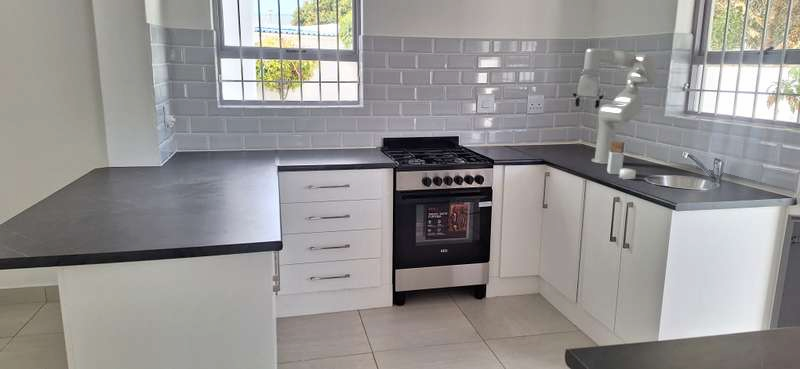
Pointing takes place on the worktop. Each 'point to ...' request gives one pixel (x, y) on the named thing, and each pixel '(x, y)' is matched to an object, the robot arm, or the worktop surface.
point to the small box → (615, 163)
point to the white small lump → (627, 173)
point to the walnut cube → (617, 147)
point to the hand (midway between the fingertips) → (586, 107)
